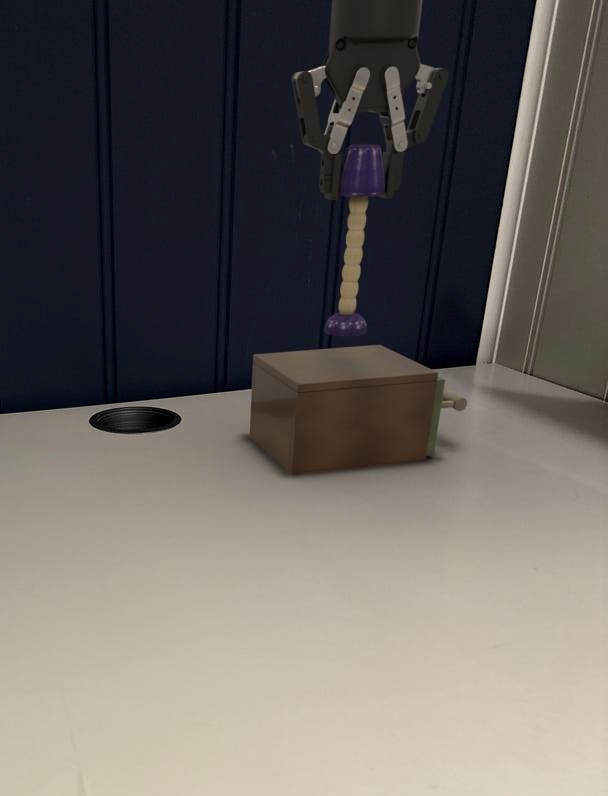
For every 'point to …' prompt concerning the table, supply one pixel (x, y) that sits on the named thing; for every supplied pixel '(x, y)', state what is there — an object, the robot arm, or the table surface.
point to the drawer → (442, 400)
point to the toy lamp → (355, 230)
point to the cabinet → (341, 408)
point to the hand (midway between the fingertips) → (358, 197)
